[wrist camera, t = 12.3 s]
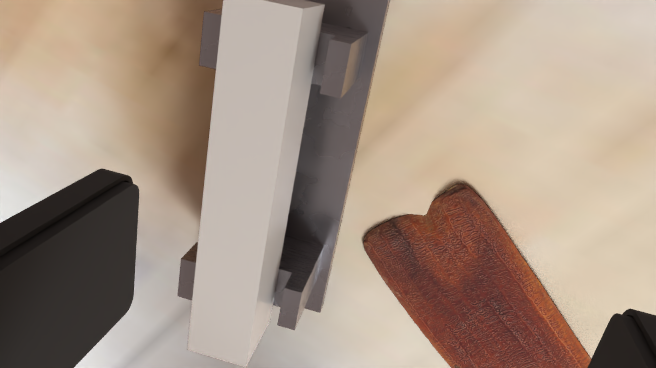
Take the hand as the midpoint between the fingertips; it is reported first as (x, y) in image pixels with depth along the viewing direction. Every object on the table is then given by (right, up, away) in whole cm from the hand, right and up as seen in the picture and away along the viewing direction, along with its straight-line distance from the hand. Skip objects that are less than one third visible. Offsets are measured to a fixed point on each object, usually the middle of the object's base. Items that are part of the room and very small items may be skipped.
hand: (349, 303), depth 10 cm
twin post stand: (-3, +5, +30) cm, 30 cm away
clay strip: (-5, +3, +24) cm, 25 cm away
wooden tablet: (+13, -10, +33) cm, 37 cm away
